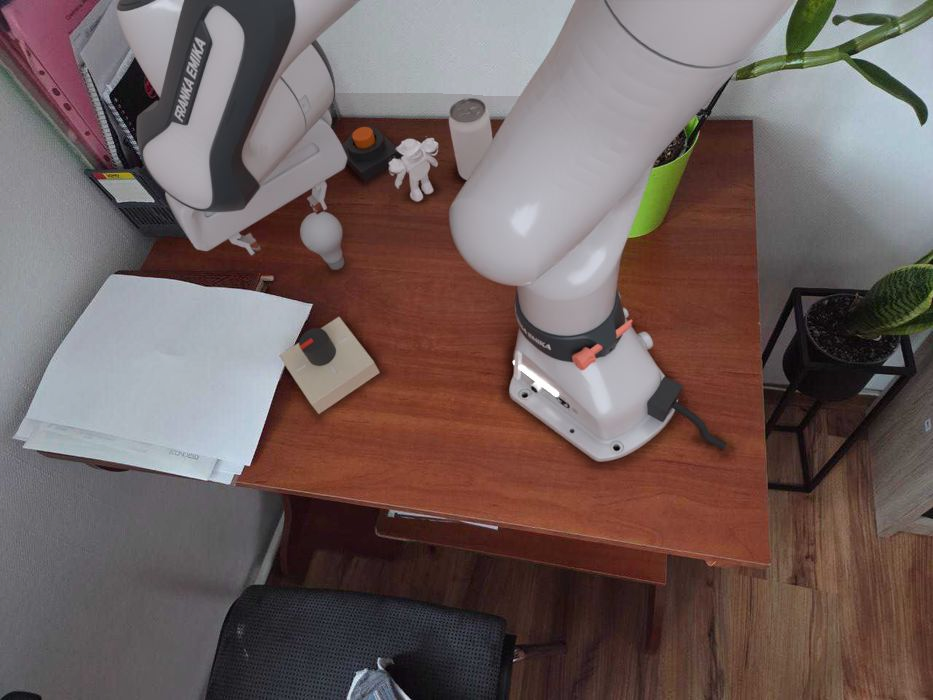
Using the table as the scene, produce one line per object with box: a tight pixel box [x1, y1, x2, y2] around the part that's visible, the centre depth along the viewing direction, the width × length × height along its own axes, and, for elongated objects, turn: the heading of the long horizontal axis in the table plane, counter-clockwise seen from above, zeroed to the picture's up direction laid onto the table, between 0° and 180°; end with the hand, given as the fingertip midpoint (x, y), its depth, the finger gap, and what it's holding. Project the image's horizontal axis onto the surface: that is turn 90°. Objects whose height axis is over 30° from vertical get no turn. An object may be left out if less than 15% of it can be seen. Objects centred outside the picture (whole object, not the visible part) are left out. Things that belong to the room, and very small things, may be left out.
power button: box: [351, 126, 375, 149], centre depth 106 cm, size 4×4×2 cm
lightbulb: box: [299, 211, 346, 271], centre depth 92 cm, size 6×6×11 cm
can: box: [448, 97, 494, 181], centre depth 99 cm, size 6×6×12 cm
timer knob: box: [298, 327, 336, 366], centre depth 83 cm, size 4×4×4 cm
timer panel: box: [278, 316, 380, 415], centre depth 86 cm, size 10×10×3 cm
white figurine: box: [388, 137, 439, 202], centre depth 98 cm, size 9×4×12 cm, turn 126°
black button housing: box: [341, 125, 403, 183], centre depth 108 cm, size 9×8×4 cm
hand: (287, 229), depth 75 cm, fingers open, 8 cm apart
